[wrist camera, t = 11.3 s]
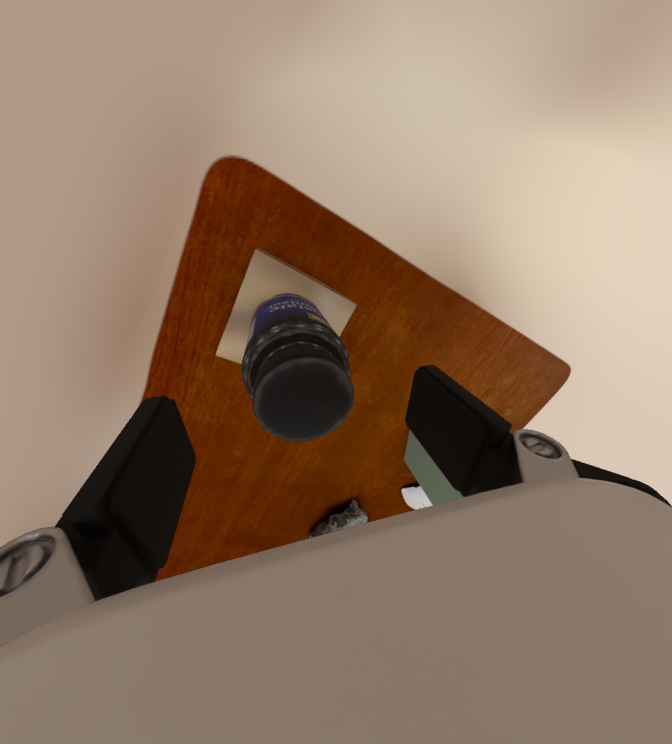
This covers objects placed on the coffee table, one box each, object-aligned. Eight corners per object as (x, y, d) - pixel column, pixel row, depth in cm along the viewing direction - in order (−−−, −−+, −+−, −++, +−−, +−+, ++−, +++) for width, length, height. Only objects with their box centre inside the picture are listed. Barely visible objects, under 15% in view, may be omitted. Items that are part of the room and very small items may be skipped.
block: (257, 246, 23) (255, 248, 17) (337, 290, 27) (357, 304, 21) (226, 329, 26) (214, 355, 20) (302, 358, 30) (311, 388, 24)
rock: (319, 494, 51) (328, 545, 50) (291, 515, 44) (301, 574, 42) (372, 497, 44) (383, 555, 43) (348, 521, 37) (362, 592, 36)
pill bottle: (330, 300, 20) (386, 350, 11) (316, 365, 23) (352, 452, 13) (252, 285, 18) (239, 331, 9) (246, 358, 21) (231, 455, 11)
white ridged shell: (449, 486, 52) (468, 511, 47) (431, 504, 54) (448, 530, 49) (410, 476, 47) (427, 503, 42) (392, 497, 49) (406, 525, 44)
